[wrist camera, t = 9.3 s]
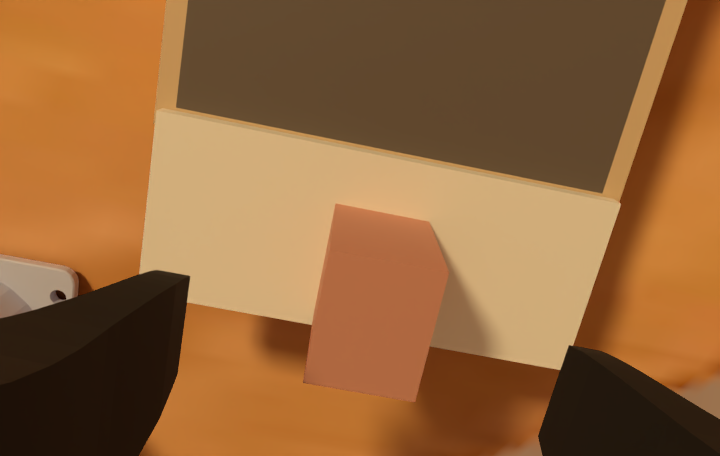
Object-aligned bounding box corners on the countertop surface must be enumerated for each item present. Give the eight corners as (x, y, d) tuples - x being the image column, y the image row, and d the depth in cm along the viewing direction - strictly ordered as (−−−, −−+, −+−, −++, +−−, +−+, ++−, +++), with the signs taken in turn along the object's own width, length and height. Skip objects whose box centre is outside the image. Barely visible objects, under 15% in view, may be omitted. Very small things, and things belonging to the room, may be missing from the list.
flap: (558, 361, 17) (616, 454, 13) (143, 285, 16) (79, 361, 13) (613, 198, 16) (694, 250, 12) (162, 107, 15) (97, 132, 11)
